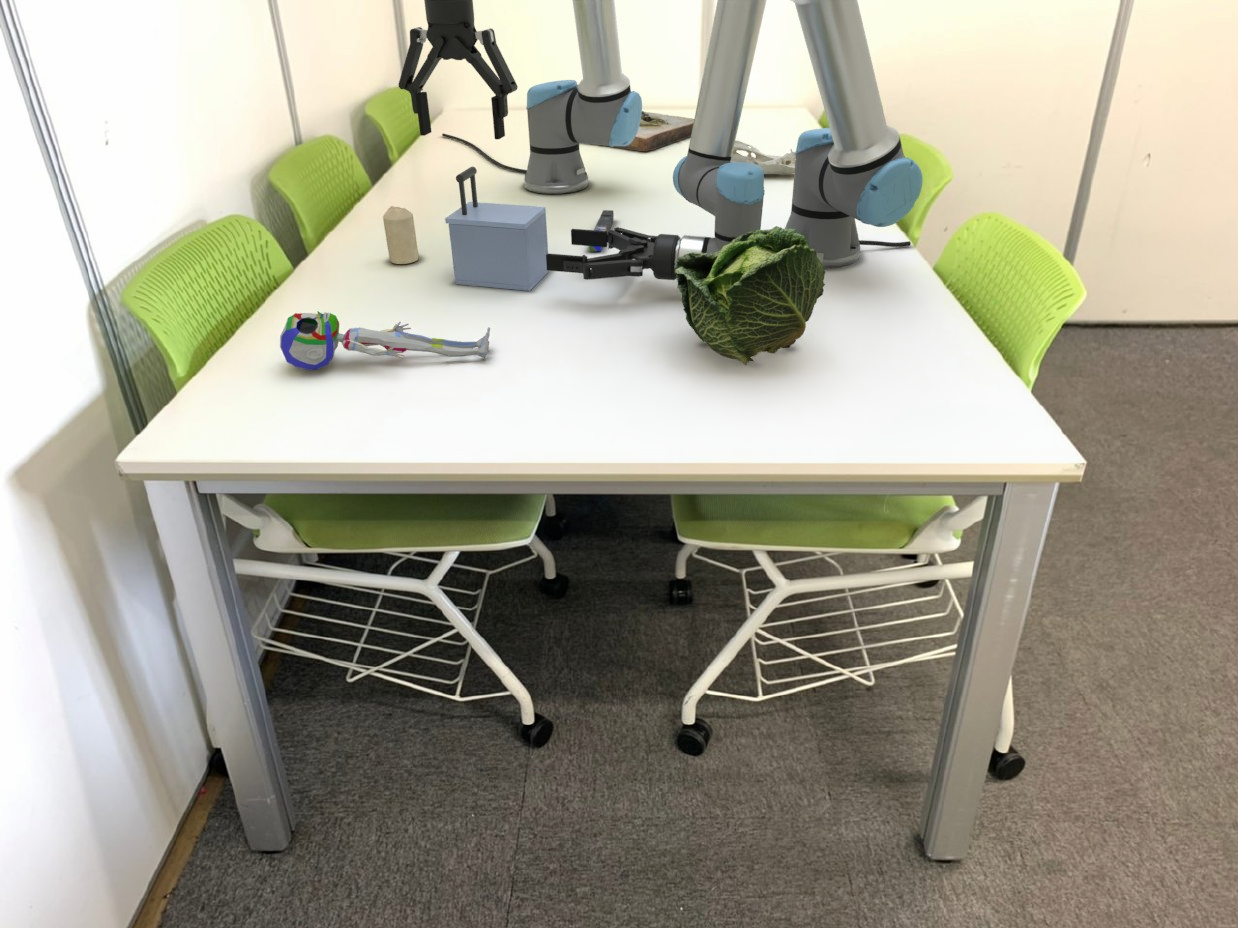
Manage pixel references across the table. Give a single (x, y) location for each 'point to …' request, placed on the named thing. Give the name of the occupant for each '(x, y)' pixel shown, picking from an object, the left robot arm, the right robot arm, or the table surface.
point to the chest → (499, 255)
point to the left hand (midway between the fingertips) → (462, 136)
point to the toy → (360, 341)
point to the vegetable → (751, 292)
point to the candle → (400, 235)
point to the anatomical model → (765, 159)
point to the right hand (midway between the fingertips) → (559, 248)
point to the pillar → (603, 225)
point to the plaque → (660, 131)
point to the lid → (490, 209)
